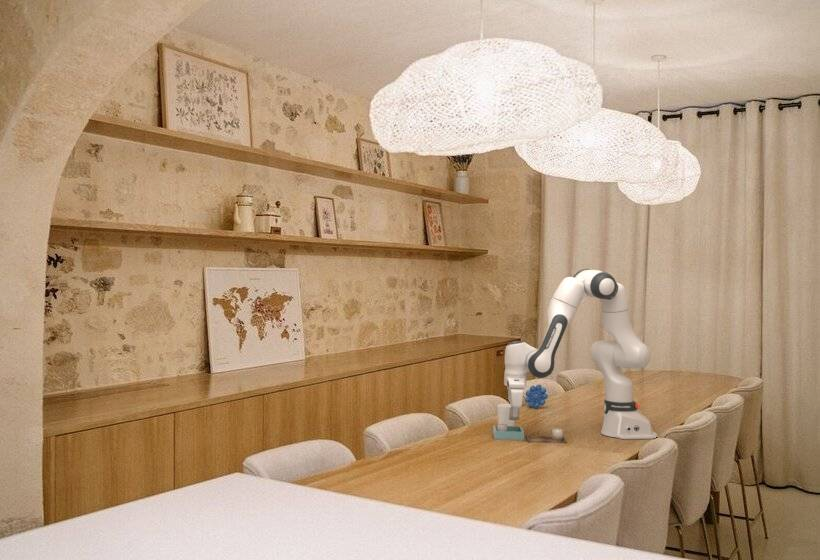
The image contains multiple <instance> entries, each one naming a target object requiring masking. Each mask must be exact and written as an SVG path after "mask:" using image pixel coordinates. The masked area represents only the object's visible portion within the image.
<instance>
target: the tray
mask: <svg viewBox="0 0 820 560" xmlns="http://www.w3.org/2000/svg"><path fill="white" fill-rule="evenodd" d="M525 439H526V440H527V443H545V444H547V443H548V444H568V440H567V439H566V438H565V437H564V436H562V441H552V435H548V436H547V435H542V436H541V435H525Z"/></svg>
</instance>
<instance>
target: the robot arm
mask: <svg viewBox="0 0 820 560" xmlns="http://www.w3.org/2000/svg"><path fill="white" fill-rule="evenodd" d="M551 297H552V298H551V299H550V302H549V305H548V307H547V312H546V316H547V320H548V321H547V324H548V325H547V330H546V333H545V334H544V337H543V339H542V342H541V344H540V346H539V348H535V347H533V346H531V345H530V344H528V343H526V342H525V340H514V341H511V342H509V343H507V345H506V347H505V350H504V351H505V352H504V367H505V369H504V373H503V376H504V377H503V386H506V390H507V391H508V392H507V400H508V402H509V404H511V407H513V417H517V413H518V408H519V409H521V408H522V407H523V400H524V399H523V398H524V389H526V386H527V373H528V372H529V373H530V374H531V375H532V376H533V377H535V378H538V379H545V378H547V377H549V376H550V375H551V374H553V371H554V370H555V369H554V368H555V358H556V353H557V350H558V348H559V346H560V343H561V342H562V339H563V336H564V335H565V331H566V330H567V329H568V327H569V325H570V323H571V322H572V321H573V319H574V317H575V315H576V313H577V311H578V309H579V307H580V304H581V302H582V301H583V299H584V298H585V297H590V298H597V299H599V300H600V308H601V318H602V319H601V320H602V327H603V329H604V330H605V331H606V333H608V334H610V335H611V336H612V337H613V338H614V340H612V339H602V340H596V341H594V342H593V343H592V345H591V347H590V349H589V355H590V359H591V360H592V362H593V363H594V364H595V365H596V366H597V367H598V368H599V370H600V371H601V374H602V376H603V380H604V388H605V389H604V390H605V392H604V393H605V394H604V397H605V399H604V400H603V413H604V414H603V415H604V416H603V422H602V428H601V431H600V434H602V435H603V436H606V437H612V438H617V439H621V440H637V439H639V440H642V439H644V440H645V439H647V440H649V439H650V440H652V439H653V440H654V438H655V439H657V438H658V434H657V432H655V431H653V429H652V424H651V421H650V420H649V419H648V418H647V417H646V416H645V415H644V414H642V413H641V412H640V411H639V410H638V409H640V408H641V407H642V405H641V404H640V403H637V402H636V401H634V400H633V399H634V398H633V396H634V384H633V382H632V380H631V379H630V378H629V377H628V376H626V375H625V374H624V372H623V370H622V369H623V368H624V369H633V370H634V369H645V367H647V366H648V365H649V363H650V361H651V357H652V356H651V355H652V354H651V351H650V349H649V347H648V345H646V344H645V343H644V342H643V341H642V340H641V339H640V338H639V337H638V336H637V334H636V332H635V331H634V328H633V326H632V321H631V314H630V305H629V304H630V303H629V297H628V294H627V291H626V288H625V286H624V284H622V283H620V282H617V281H616V279H615V278H614V277H613V276H612V275H611V274H610V273H608V272H606V271H605V272H604V271H602V270H598V269H590V268H584V269H581V270H578V271H577V272H576V273H575V274H574V275H573V276H567V277H565V278H563V279H562V280H561V282H560V283H559V285H558V286H557V288H556V289H555V291H554V293H553V295H552V296H551ZM656 437H657V438H656Z"/></svg>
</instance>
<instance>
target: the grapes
mask: <svg viewBox="0 0 820 560" xmlns="http://www.w3.org/2000/svg"><path fill="white" fill-rule="evenodd" d="M546 392H547V388H546V387H543V386H542V385H541V384H537V385H531V386H530V387H529V390H527V391H526V392H525V396H526V397H525V398H524V401H525V403H527V404H528V405H527V406H528V407H529V408H533V407H534V409H539V408H540V407H541V406H544V405H545V404H546V400H547V399H548V397H549V395H548V393H546Z"/></svg>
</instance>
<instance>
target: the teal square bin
mask: <svg viewBox="0 0 820 560" xmlns="http://www.w3.org/2000/svg"><path fill="white" fill-rule="evenodd" d="M492 433H493V438H494V440H505V441H506V440H508V441H509V440H510V441H511V440H515V441H524V440H525V431H524V428H523V427H522V426H521V425H518V426H516V425H514V426H507V431H497V425H493V426H492Z"/></svg>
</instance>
